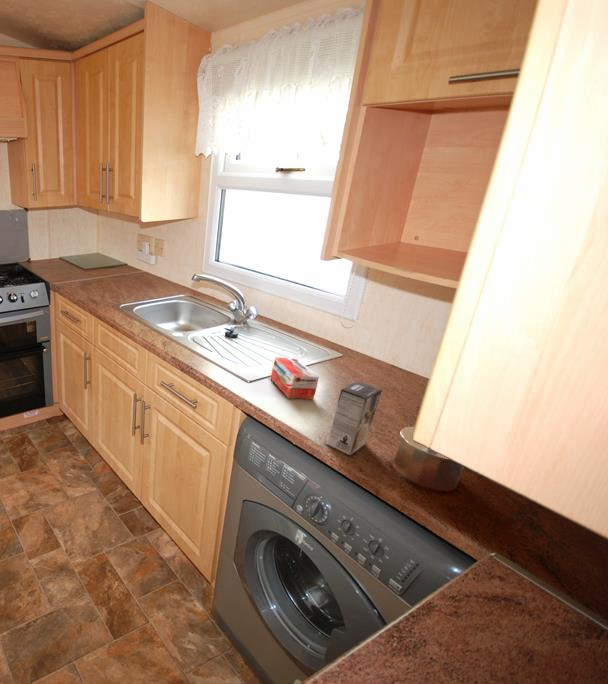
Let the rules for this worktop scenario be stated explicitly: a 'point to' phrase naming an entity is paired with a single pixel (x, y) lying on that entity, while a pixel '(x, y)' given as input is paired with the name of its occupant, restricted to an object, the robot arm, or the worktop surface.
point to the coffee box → (353, 417)
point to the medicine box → (294, 378)
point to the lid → (407, 438)
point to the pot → (426, 468)
